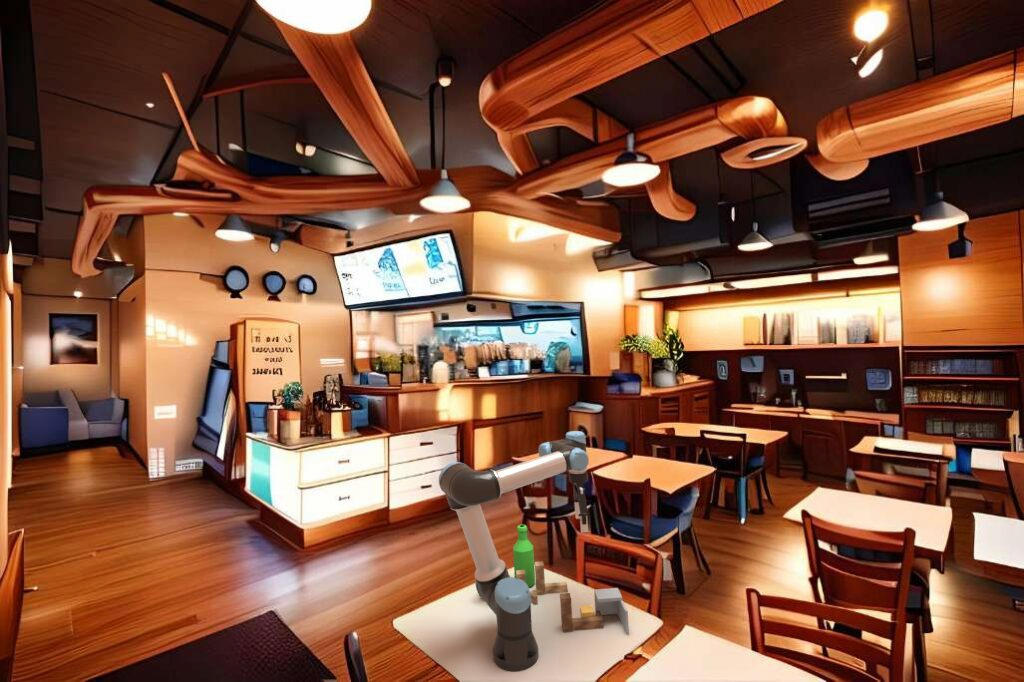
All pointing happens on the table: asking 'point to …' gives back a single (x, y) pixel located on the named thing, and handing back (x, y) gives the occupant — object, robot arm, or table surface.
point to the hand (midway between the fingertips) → (581, 524)
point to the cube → (587, 611)
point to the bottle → (524, 555)
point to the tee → (522, 576)
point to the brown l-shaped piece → (577, 623)
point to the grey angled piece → (611, 604)
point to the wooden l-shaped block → (544, 587)
